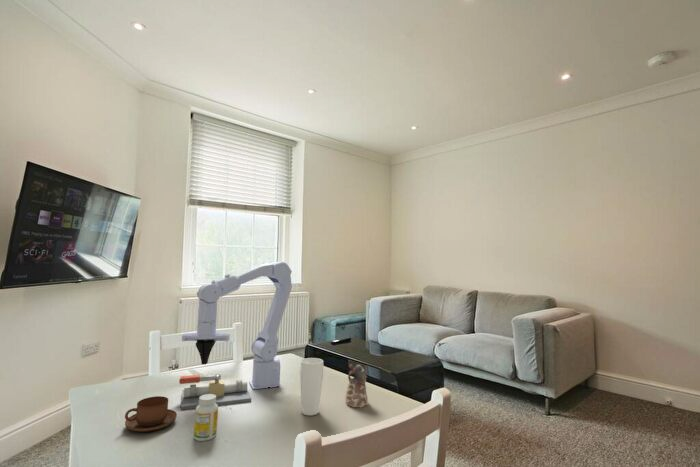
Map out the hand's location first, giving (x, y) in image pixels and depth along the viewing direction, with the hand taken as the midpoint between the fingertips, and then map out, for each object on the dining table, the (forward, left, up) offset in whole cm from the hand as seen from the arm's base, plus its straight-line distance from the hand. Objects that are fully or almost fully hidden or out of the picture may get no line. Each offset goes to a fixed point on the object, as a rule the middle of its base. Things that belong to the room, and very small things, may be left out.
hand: (204, 363), depth 117 cm
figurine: (-45, +22, -11) cm, 51 cm away
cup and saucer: (+13, +17, -11) cm, 24 cm away
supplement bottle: (0, +29, -11) cm, 30 cm away
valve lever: (+1, +2, -5) cm, 5 cm away
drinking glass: (-29, +24, -11) cm, 39 cm away
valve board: (-4, +3, -10) cm, 11 cm away
